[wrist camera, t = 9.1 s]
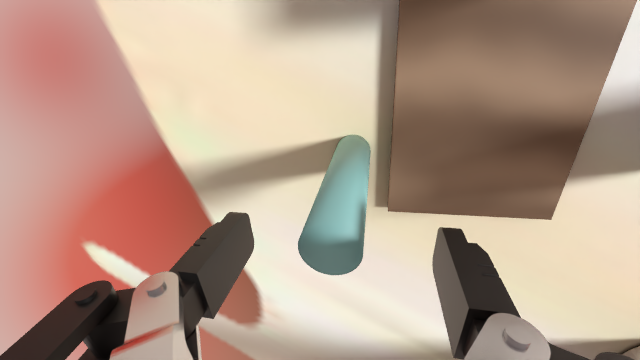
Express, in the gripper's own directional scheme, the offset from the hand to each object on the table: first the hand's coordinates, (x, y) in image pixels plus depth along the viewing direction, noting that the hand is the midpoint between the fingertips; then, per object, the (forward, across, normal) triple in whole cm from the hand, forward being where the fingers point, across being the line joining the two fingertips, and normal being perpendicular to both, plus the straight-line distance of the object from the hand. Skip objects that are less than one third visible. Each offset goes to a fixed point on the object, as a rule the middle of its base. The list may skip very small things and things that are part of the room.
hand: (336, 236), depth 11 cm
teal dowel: (+12, 0, +1) cm, 12 cm away
